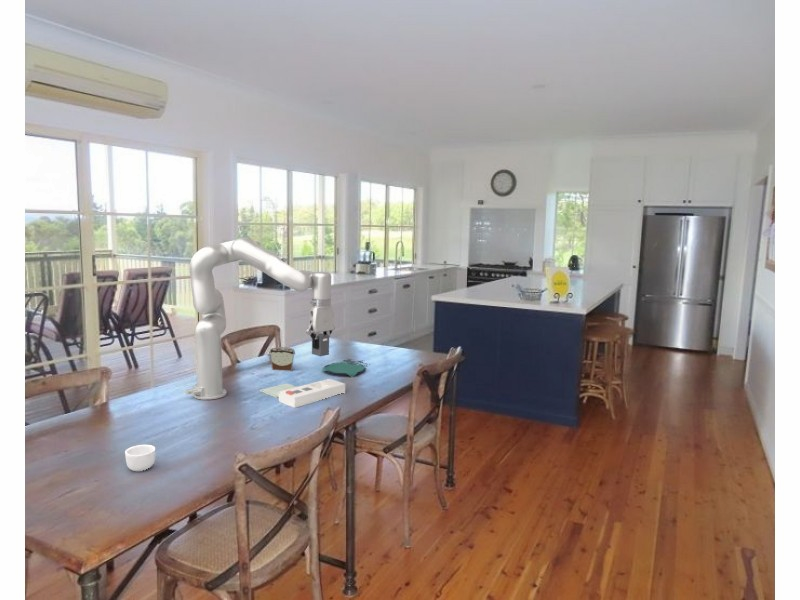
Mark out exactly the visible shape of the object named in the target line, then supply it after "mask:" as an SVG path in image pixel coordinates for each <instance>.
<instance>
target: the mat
mask: <svg viewBox="0 0 800 600" xmlns="http://www.w3.org/2000/svg"><path fill="white" fill-rule="evenodd" d="M295 387H297V386H296V385H293V384H291V383H289V382H286V383H282V384H278V385H274V386H271V387H267V388H262V389H259V392H260V393H263V394H266V395H268V396H271V397H274V398H275V399H279V391H283V390H287V389H291V388H295Z"/></svg>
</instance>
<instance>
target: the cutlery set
mask: <svg viewBox="0 0 800 600" xmlns="http://www.w3.org/2000/svg"><path fill="white" fill-rule="evenodd" d="M346 359H348V360H346ZM346 359H343V362H342V361H340V362H332V363H330V364H327V365H325V366H323V367H322V371H323V372H324V373H329V374H333V375H339V376H349V377H350V376H353V377H355V376H356V375H358V374H361V373H364V372H365V371H366V369H367V368H366V366H362V365H361V364H359V365H357V364H358V363H353V362H354V361H349V360H353V359H351V358H348V357H347V358H346ZM345 361H347V362H345ZM361 361H364V360H363V359H362V360H361Z"/></svg>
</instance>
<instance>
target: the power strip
mask: <svg viewBox="0 0 800 600" xmlns="http://www.w3.org/2000/svg"><path fill="white" fill-rule="evenodd" d="M341 393H344V394H346V383H344V382H341V381H338V380H334V379H332V378H327V379H323V380H319V381H315V382H310V383H307V384H304V385H300V386H296V387H295V388H291V389H287V390H283V391H279V398H278V402H279V403H282V404H284V405H286V406H288V407H292V408H293V409H296V408H299V407H302V406H306V405H309V404H312V403H316V402H319V400H320V401H323V400H326V399H325V398H327V399H329V398H328V397H330V398H332V397H331V396H334V395H337V394H340V395H342V394H341ZM337 396H338V395H337ZM334 397H335V396H334ZM322 399H323V400H322Z"/></svg>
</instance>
